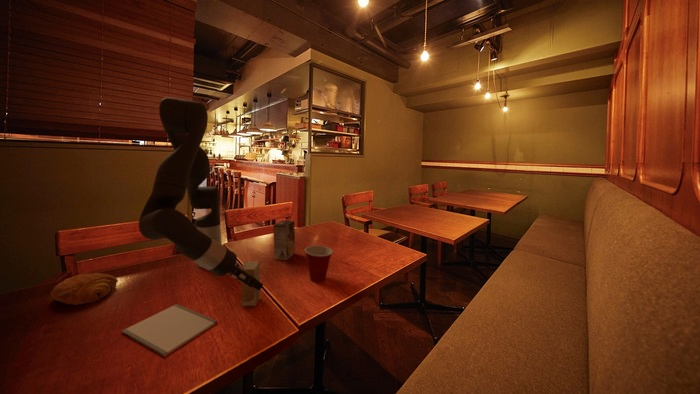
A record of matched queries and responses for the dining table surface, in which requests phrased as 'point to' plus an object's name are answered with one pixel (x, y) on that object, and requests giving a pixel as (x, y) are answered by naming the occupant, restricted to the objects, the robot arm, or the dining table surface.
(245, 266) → the skincare box
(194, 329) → the mat
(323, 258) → the plastic cup
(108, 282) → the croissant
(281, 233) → the coffee box
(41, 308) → the dining table surface
